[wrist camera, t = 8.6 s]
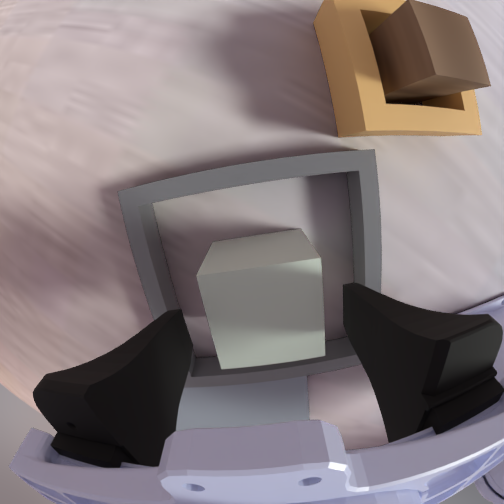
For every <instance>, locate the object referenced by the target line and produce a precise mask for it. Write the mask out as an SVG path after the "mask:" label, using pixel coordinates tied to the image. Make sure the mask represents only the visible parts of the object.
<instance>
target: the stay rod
mask: <svg viewBox="0 0 504 504" xmlns="http://www.w3.org/2000/svg"><path fill="white" fill-rule="evenodd" d="M369 38H370V41H371V44H372V48H373V51H374V55H375V58H376V62H377V66H378V70H379V74H380V78H381V83H382V87H383V92H384V97H385V101H386V103H403V104H415V103H418V102H422V101H426V100H429V99H433V98H437V97H441V96H445V95H450V94H454V93H458V92H463V91H468V90H473V89H478V88H483V87H488V86H491V85H490V81H489V77H488V73H487V70H486V67H485V63H484V60H483V57H482V54H481V51H480V48H479V45H478V43H477V40H476V37H475V35H474V32H473V30H472V27H471V25H470V22H469V20H468V18H467V17H465V16H463V15H460V14H457V13H455V12H452V11H449V10H446V9H443V8H440V7H436V6H433V5H430V4H426V3H422V2H419V1H415V0H407V1H406V2H404V3H403V4H402V5H401V6H400V7H399V8H398V9H397V10H395V11H394V12H393V13H392V14H391V15H390V16H389V17H388V18H387V19H386V20H385V21H384V22H382V23H381V24H380V25H379V26H378V27H377V28H376V29H375V30H374V31H373V32H372V33H371V34H370V35H369Z"/></svg>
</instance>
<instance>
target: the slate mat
mask: <svg viewBox="0 0 504 504" xmlns="http://www.w3.org/2000/svg"><path fill="white" fill-rule="evenodd" d="M294 420H309V404H308V386H307V376H302V377H296V378H290V379H283V380H276V381H268V382H260V383H251V384H240V385H229V386H214V387H193V388H184V389H183V393H182V396H181V400H180V404H179V409H178V417H177V424H176V431H180V430H187V429H193V428H223V427H241V426H253V425H263V424H272V423H280V422H288V421H294Z"/></svg>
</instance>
